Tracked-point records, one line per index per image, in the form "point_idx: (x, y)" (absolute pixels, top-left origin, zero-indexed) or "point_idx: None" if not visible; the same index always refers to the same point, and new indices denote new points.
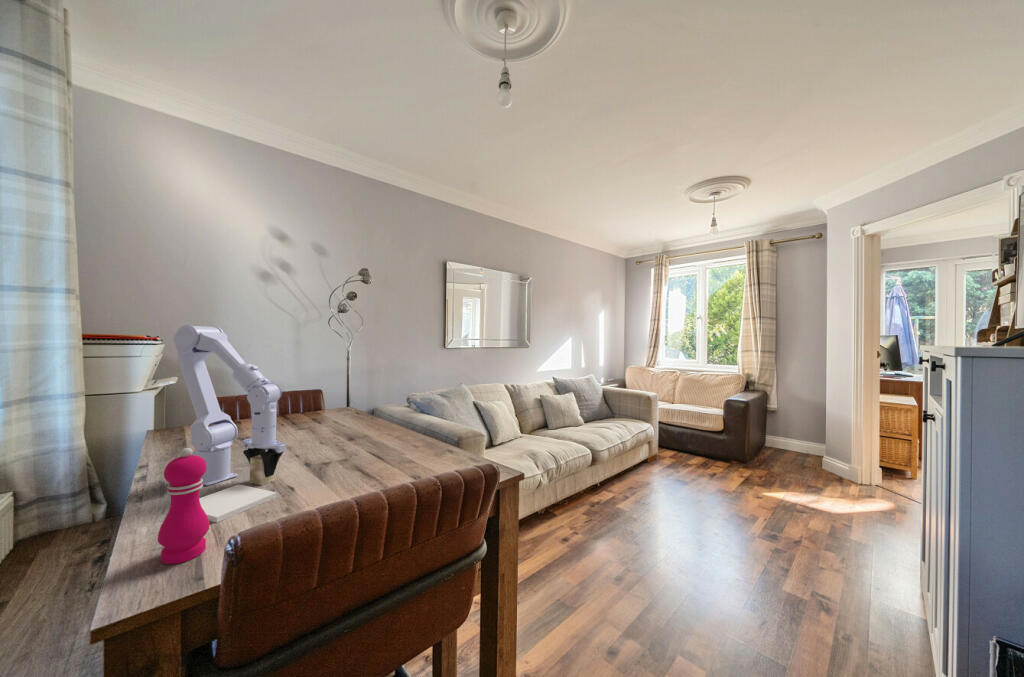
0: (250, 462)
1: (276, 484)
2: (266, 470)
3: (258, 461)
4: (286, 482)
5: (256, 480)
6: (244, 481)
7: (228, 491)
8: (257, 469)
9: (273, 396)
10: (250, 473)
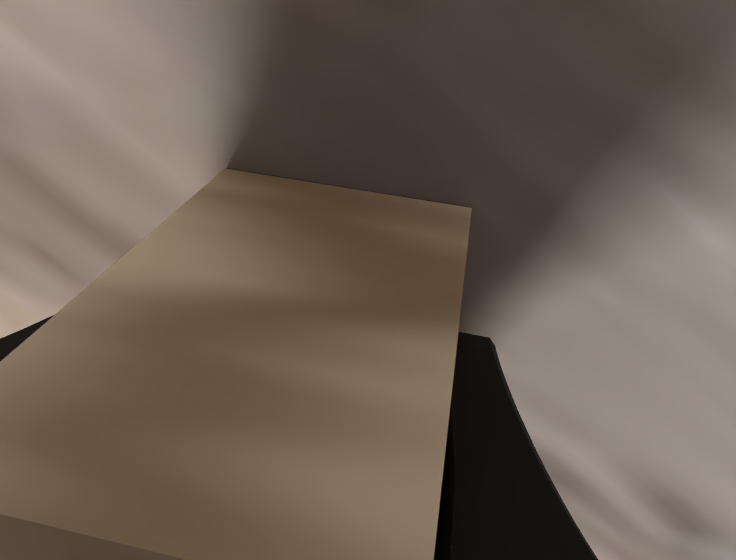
0: (423, 470)
1: (84, 241)
2: (42, 322)
3: (46, 456)
4: (48, 312)
5: (303, 209)
6: (618, 246)
7: None
8: (200, 312)
9: None
10: (446, 287)
